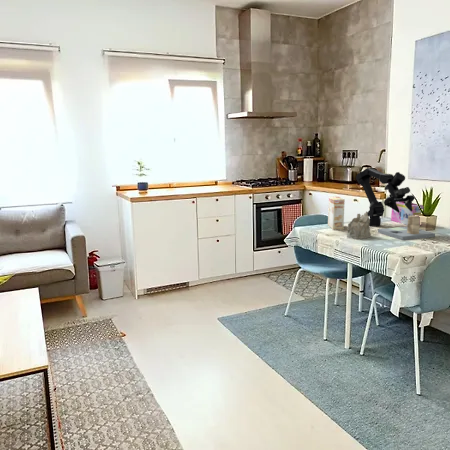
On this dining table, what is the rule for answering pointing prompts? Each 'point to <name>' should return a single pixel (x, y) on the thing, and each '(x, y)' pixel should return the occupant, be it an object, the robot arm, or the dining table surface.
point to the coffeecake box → (336, 213)
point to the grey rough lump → (359, 227)
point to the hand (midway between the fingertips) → (405, 211)
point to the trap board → (405, 233)
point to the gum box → (405, 212)
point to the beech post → (413, 224)
